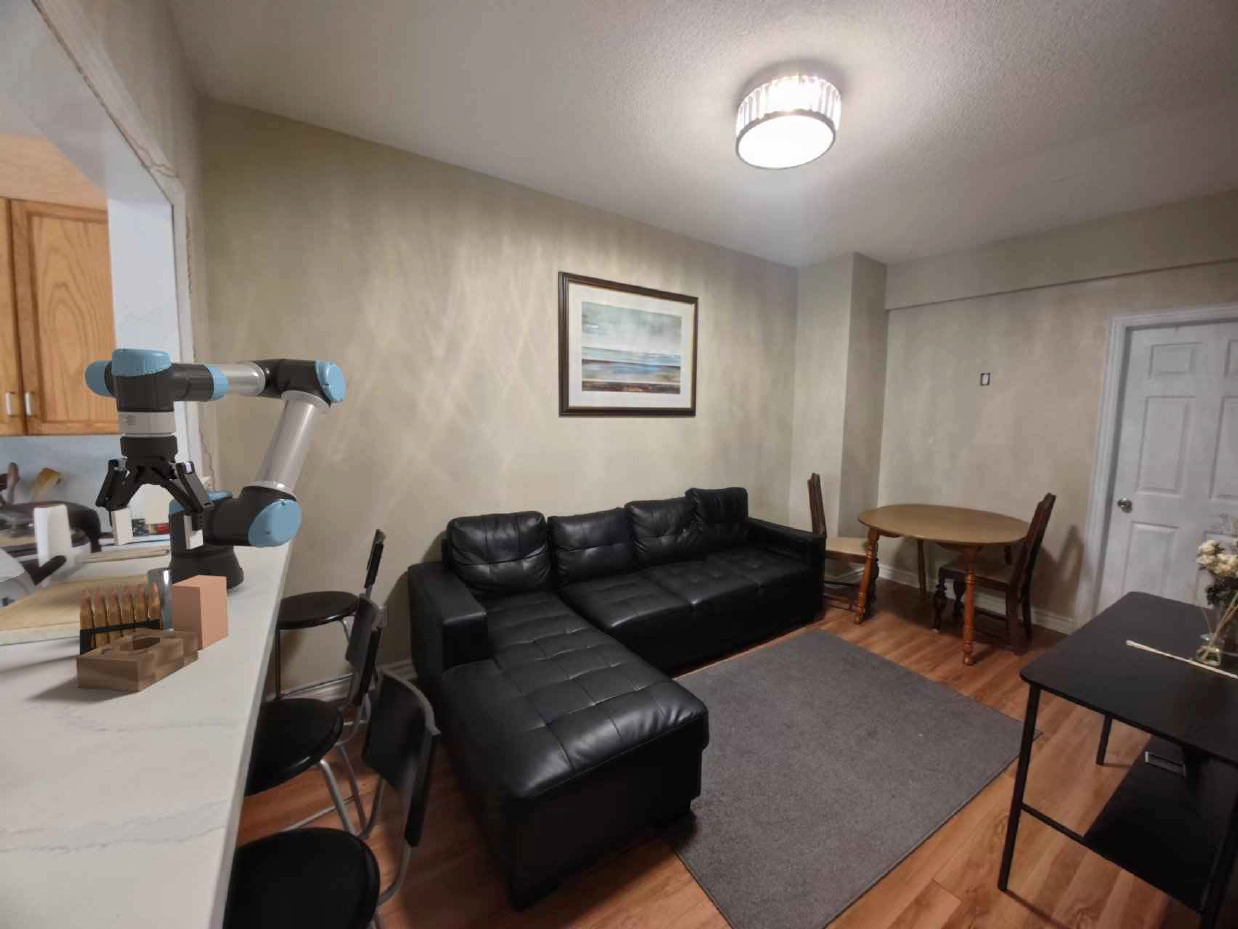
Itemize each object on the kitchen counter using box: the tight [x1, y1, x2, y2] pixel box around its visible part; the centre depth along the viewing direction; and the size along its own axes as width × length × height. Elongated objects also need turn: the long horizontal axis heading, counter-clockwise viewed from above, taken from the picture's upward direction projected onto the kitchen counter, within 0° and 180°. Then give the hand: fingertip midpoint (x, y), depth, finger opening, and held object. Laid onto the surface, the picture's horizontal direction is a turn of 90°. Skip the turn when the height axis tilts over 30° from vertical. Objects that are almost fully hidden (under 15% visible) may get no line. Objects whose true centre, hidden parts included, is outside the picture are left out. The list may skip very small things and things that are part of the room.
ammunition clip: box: [79, 582, 164, 656], centre depth 85 cm, size 11×2×12 cm, turn 121°
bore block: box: [75, 629, 199, 693], centre depth 79 cm, size 10×10×5 cm
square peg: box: [171, 575, 229, 650], centre depth 89 cm, size 6×6×12 cm
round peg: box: [146, 566, 173, 631], centre depth 94 cm, size 3×3×12 cm
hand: (159, 545), depth 90 cm, fingers open, 13 cm apart
